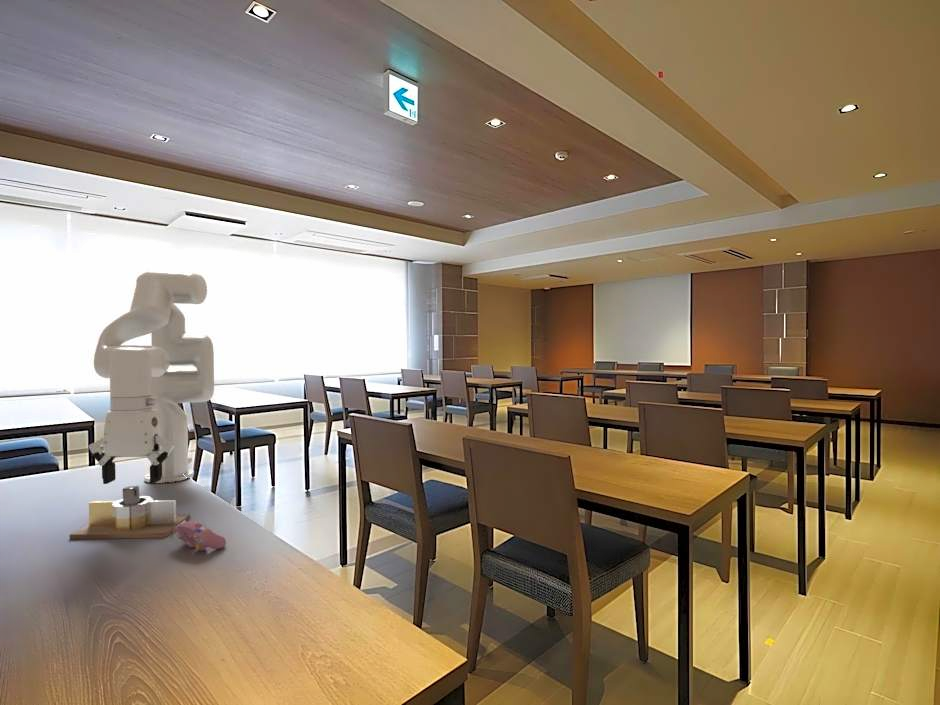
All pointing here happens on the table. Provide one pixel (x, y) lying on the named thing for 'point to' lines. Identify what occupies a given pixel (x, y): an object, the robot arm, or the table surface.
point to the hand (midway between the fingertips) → (132, 481)
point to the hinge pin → (131, 495)
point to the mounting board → (127, 531)
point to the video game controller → (198, 535)
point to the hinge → (132, 513)
